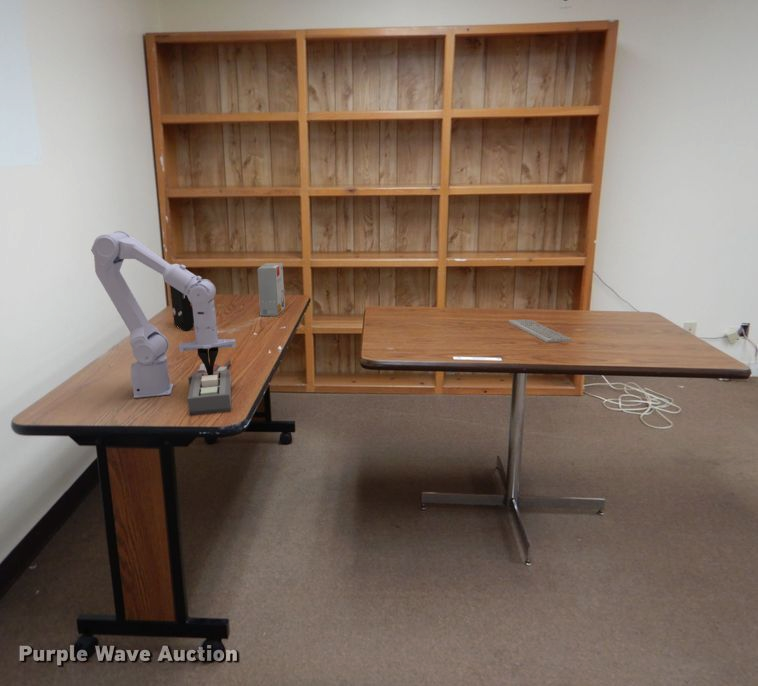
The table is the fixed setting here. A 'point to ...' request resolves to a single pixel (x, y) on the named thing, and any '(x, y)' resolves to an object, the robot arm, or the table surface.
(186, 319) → the handheld gaming console
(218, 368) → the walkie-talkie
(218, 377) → the terracotta key
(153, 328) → the robot arm
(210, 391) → the sage key
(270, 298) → the hard drive box
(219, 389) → the keypad housing
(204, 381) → the offwhite key
